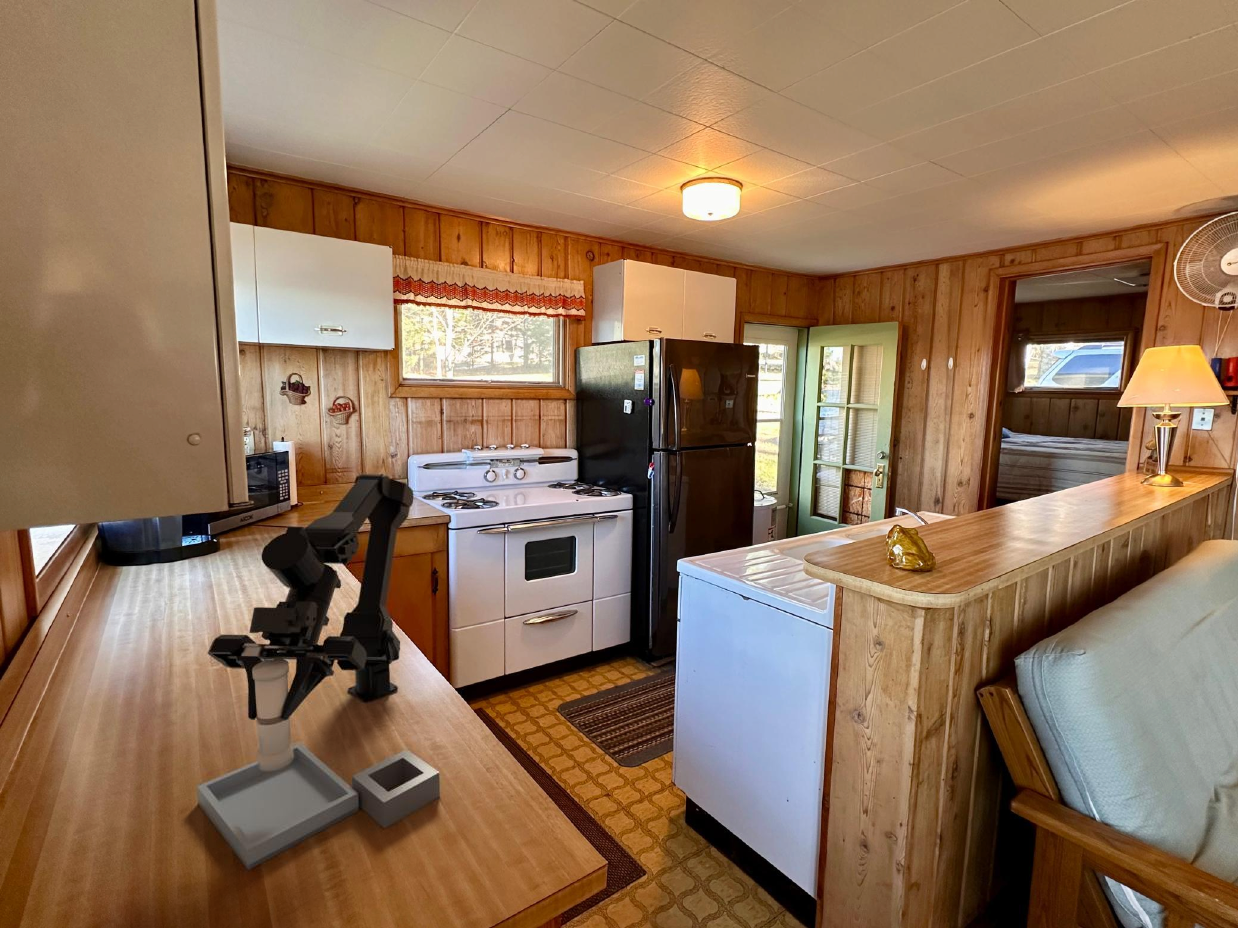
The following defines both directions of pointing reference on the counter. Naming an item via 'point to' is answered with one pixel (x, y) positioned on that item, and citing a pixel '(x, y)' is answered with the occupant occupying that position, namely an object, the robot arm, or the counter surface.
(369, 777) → the holder
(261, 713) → the beige banded cylinder
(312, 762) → the parts tray
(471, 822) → the counter surface
